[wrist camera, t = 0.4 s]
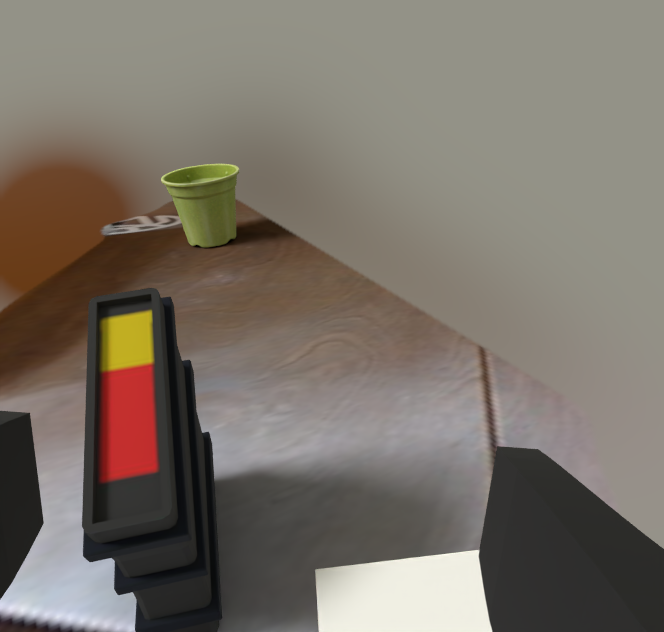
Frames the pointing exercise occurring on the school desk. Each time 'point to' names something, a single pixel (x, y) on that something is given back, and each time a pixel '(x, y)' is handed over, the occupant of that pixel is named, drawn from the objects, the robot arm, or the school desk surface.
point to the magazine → (149, 466)
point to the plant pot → (205, 202)
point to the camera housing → (404, 595)
